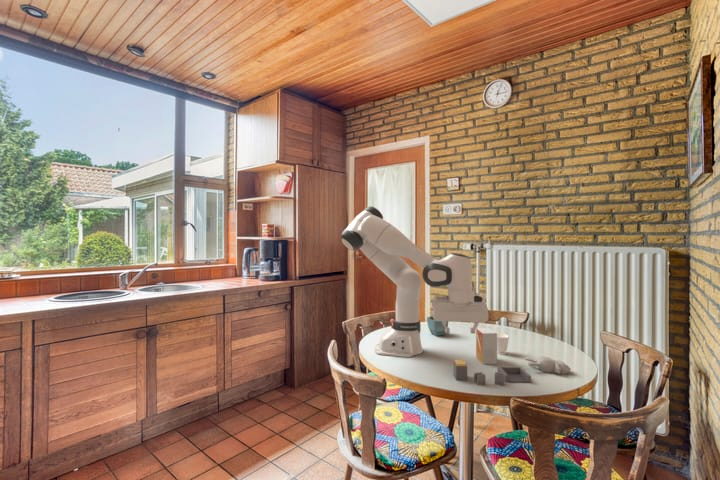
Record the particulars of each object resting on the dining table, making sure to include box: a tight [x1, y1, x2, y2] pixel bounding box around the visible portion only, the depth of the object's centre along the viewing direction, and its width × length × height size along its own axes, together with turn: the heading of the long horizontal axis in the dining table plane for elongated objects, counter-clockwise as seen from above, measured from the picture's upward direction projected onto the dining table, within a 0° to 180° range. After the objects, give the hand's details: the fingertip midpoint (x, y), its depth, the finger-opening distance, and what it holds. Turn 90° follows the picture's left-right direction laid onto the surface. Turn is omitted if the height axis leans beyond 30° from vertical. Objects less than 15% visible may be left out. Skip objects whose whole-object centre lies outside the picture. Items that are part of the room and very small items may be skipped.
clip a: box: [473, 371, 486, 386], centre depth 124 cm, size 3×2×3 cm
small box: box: [475, 327, 498, 365], centre depth 147 cm, size 8×6×13 cm
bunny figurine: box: [524, 355, 571, 375], centre depth 135 cm, size 10×5×15 cm
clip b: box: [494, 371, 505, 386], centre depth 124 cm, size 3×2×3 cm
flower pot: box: [426, 316, 449, 337], centre depth 187 cm, size 9×9×9 cm
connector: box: [453, 359, 468, 382], centre depth 129 cm, size 4×5×6 cm
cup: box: [497, 333, 510, 356], centre depth 157 cm, size 7×10×8 cm
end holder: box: [496, 365, 532, 384], centre depth 129 cm, size 9×9×2 cm
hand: (460, 332), depth 129 cm, fingers open, 8 cm apart
